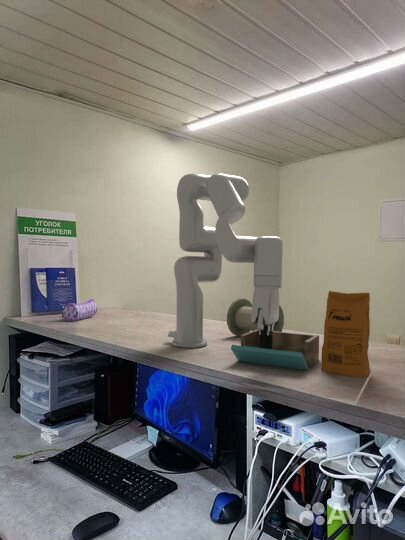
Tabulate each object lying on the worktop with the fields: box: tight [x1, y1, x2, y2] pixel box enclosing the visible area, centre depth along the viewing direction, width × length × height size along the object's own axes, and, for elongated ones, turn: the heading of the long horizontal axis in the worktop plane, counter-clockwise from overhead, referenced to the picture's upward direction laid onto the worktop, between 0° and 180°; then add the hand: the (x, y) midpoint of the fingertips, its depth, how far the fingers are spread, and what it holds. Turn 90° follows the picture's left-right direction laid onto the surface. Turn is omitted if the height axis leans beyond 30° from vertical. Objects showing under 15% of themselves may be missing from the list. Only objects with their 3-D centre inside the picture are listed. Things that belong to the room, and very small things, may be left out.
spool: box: [226, 298, 285, 337], centre depth 158 cm, size 16×15×15 cm
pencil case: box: [62, 298, 98, 322], centre depth 208 cm, size 22×9×10 cm, turn 168°
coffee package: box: [321, 290, 371, 378], centre depth 107 cm, size 10×12×22 cm
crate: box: [240, 330, 320, 370], centre depth 119 cm, size 20×12×8 cm, turn 61°
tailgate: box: [230, 344, 309, 371], centre depth 111 cm, size 20×1×8 cm
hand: (265, 349), depth 110 cm, fingers closed
